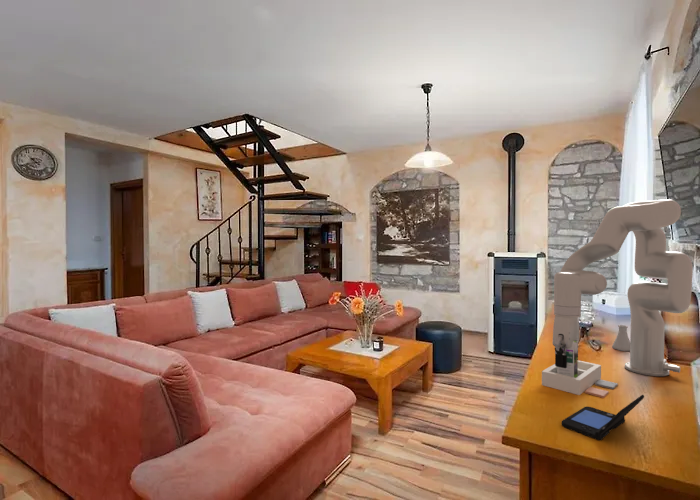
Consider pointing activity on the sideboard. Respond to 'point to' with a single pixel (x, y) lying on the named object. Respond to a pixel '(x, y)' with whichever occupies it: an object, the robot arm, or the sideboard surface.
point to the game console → (597, 420)
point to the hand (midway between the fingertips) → (566, 363)
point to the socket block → (578, 380)
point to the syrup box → (571, 361)
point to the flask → (622, 339)
